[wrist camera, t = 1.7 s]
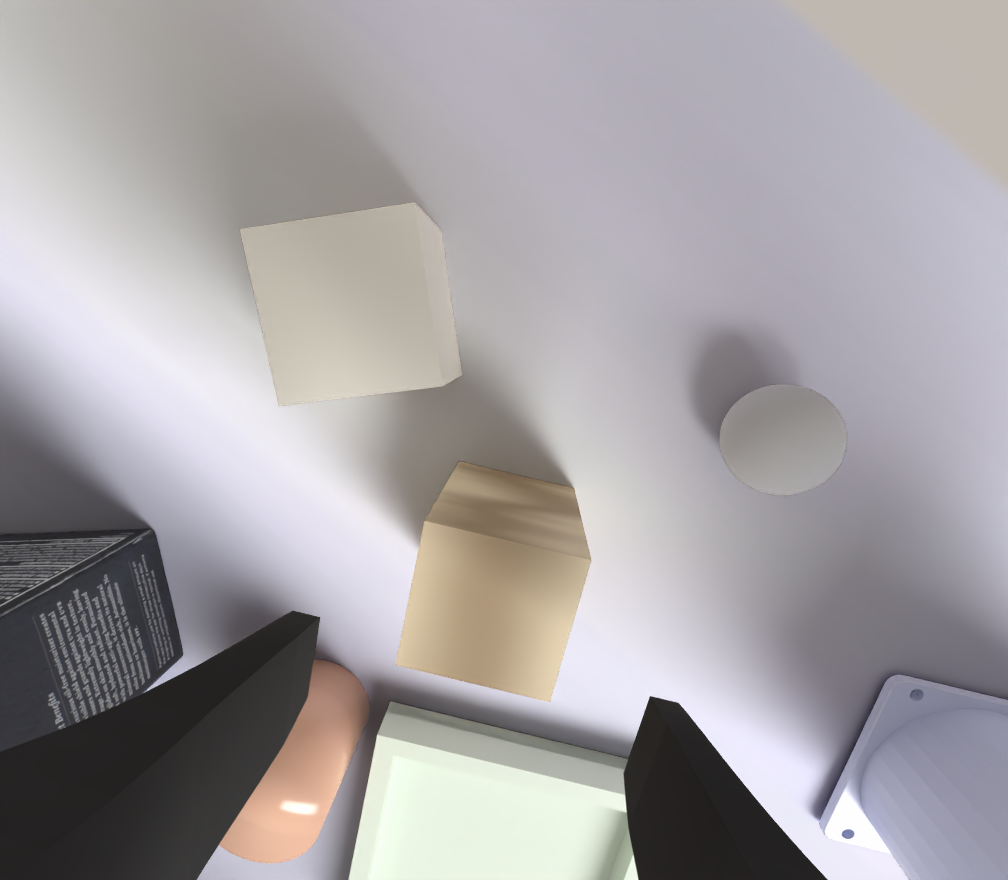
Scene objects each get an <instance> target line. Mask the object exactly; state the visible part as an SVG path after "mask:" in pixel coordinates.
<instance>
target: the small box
mask: <svg viewBox="0 0 1008 880" xmlns="http://www.w3.org/2000/svg"><path fill="white" fill-rule="evenodd" d="M182 656H183V652H182V645H181V641H180V638H179V632H178V628H177V624H176V619H175V615H174V611H173V606H172V602H171V598H170V594H169V590H168V585H167V581H166V577H165V573H164V568H163V565H162V560H161V555H160V551H159V547H158V543H157V539H156V536H155V533H154V532H153V531H152V530H150V529H142V530H111V531H84V532H59V533H35V534H5V535H0V752H1V751H4V750H6V749H9V748H12V747H14V746H17V745H20V744H22V743H25V742H28V741H30V740H33V739H36V738H38V737H41V736H44V735H47V734H49V733H52V732H55V731H57V730H60V729H63V728H65V727H68V726H70V725H73V724H75V723H77V722H80V721H82V720H84V719H87V718H89V717H91V716H94V715H96V714H98V713H101V712H103V711H105V710H108V709H110V708H112V707H115V706H117V705H119V704H121V703H123V702H126V701H128V700H130V699H132V698H134V697H136V696H139V695H141V694H143V693H144V692H145V691H146V690H147V689H148V688H149V687H150V686H151V685H152V684H153V683H155V682H156V681H157V680H158V679H159V678H160V677H161V676H162V675H163V674H164V673H165V672H166V671H167V670H168V669H169V668H170V667H172V666H173V665H174V664H175V663H176V662H177V661H178V660H179V659H180V658H181V657H182Z"/></svg>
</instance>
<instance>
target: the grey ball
mask: <svg viewBox="0 0 1008 880" xmlns="http://www.w3.org/2000/svg"><path fill="white" fill-rule="evenodd" d="M719 444H720V451H721V454H722V457H723V459H724V461H725V463H726V465H727V467H728V468H729V470H730V471H731V472H732V473H733V475H734V476H735V477H736V478H738V479H739V480H740V481H741V482H742V483H744V484H746V485H747V486H749V487H751V488H753V489H755V490H757V491H760V492H764V493H767V494H773V495H794V494H799V493H803V492H806V491H809V490H812V489H814V488H816V487H818V486H819V485H821V484H823V483H824V482H825V481H827V480H828V479H829V478H830V477H831V476H832V475H833V474H834V473H835V471H836V470H837V469H838V467H839V466H840V464H841V462H842V460H843V458H844V455H845V452H846V447H847V432H846V428H845V424H844V421H843V419H842V417H841V415H840V413H839V412H838V410H837V409H836V408H835V407H834V406H833V404H832V403H831V402H830V401H829V400H827V399H826V398H825V397H823V396H822V395H820V394H819V393H817V392H815V391H813V390H811V389H808V388H805V387H802V386H798V385H791V384H776V385H769V386H765V387H761V388H758V389H756V390H753V391H751V392H749V393H748V394H746V395H745V396H743V397H742V398H740V399H739V400H738V401H737V402H736V403H735V404H734V405H733V406H732V407H731V408H730V410H729V411H728V412H727V414H726V416H725V418H724V420H723V422H722V425H721V429H720V435H719Z"/></svg>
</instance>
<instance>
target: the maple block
mask: <svg viewBox="0 0 1008 880" xmlns="http://www.w3.org/2000/svg"><path fill="white" fill-rule="evenodd" d="M590 563H591V557H590V553H589V549H588V544H587V540H586V536H585V532H584V528H583V524H582V520H581V515H580V511H579V507H578V503H577V499H576V495H575V490H574V488H571V487H567V486H563V485H558V484H554V483H550V482H546V481H541V480H537V479H533V478H529V477H524V476H520V475H516V474H512V473H507V472H503V471H499V470H495V469H490V468H486V467H482V466H478V465H473V464H469V463H465V462H461V461H459V462H458V464H457V465H456V467H455V469H454V471H453V472H452V474H451V476H450V478H449V479H448V481H447V483H446V484H445V486H444V488H443V490H442V491H441V493H440V495H439V496H438V498H437V500H436V502H435V503H434V505H433V507H432V509H431V510H430V512H429V514H428V515H427V517H426V519H425V521H424V525H423V530H422V535H421V540H420V545H419V550H418V555H417V560H416V565H415V570H414V575H413V580H412V585H411V590H410V595H409V600H408V605H407V610H406V615H405V620H404V625H403V630H402V635H401V640H400V645H399V650H398V655H397V660H396V665H398V666H402V667H406V668H410V669H414V670H418V671H423V672H427V673H431V674H435V675H439V676H443V677H448V678H452V679H456V680H460V681H464V682H468V683H473V684H477V685H481V686H485V687H489V688H493V689H498V690H502V691H506V692H510V693H514V694H518V695H523V696H527V697H531V698H535V699H539V700H543V701H548V702H550V700H551V697H552V693H553V690H554V686H555V683H556V680H557V676H558V673H559V669H560V666H561V662H562V659H563V656H564V652H565V649H566V645H567V642H568V638H569V635H570V632H571V628H572V625H573V621H574V618H575V614H576V611H577V608H578V604H579V601H580V597H581V594H582V590H583V587H584V584H585V580H586V577H587V573H588V570H589V566H590Z"/></svg>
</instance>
